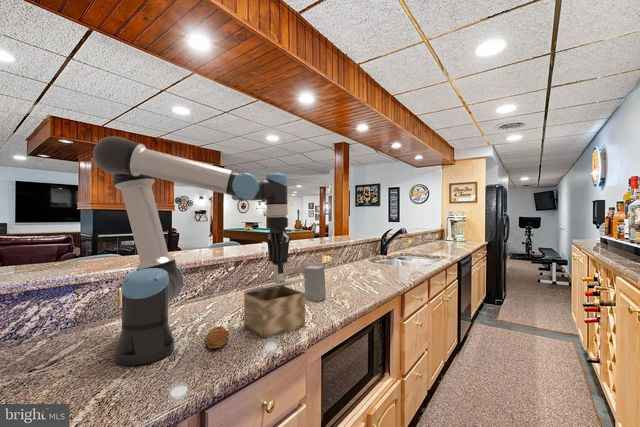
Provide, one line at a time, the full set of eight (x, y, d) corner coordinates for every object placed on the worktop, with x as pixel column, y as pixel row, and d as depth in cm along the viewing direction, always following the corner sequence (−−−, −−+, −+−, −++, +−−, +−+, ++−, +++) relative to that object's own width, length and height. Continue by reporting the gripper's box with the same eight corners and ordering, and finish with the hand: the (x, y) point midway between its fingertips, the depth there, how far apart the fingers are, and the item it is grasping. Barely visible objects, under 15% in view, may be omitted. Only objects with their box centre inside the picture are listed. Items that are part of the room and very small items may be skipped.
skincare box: (326, 299, 143) (326, 266, 143) (318, 302, 137) (318, 268, 137) (311, 296, 148) (311, 264, 148) (303, 299, 141) (303, 266, 142)
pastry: (226, 349, 89) (227, 336, 89) (202, 351, 87) (203, 338, 87) (228, 336, 98) (229, 325, 98) (206, 338, 96) (207, 326, 96)
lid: (263, 288, 97) (262, 283, 97) (243, 293, 107) (243, 288, 108) (305, 280, 108) (304, 276, 109) (284, 285, 119) (283, 281, 119)
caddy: (263, 338, 97) (263, 302, 97) (244, 326, 108) (244, 293, 108) (304, 326, 108) (305, 293, 108) (283, 316, 119) (283, 286, 119)
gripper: (296, 216, 104) (298, 283, 104) (276, 216, 114) (277, 278, 114) (278, 216, 99) (280, 287, 99) (258, 217, 110) (259, 281, 109)
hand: (278, 282), depth 107 cm, fingers closed
